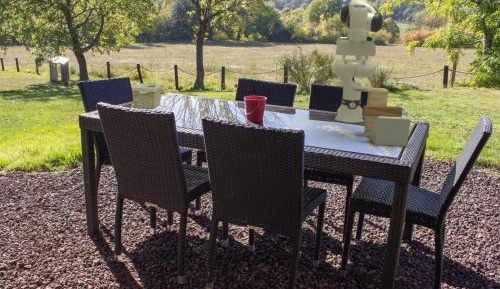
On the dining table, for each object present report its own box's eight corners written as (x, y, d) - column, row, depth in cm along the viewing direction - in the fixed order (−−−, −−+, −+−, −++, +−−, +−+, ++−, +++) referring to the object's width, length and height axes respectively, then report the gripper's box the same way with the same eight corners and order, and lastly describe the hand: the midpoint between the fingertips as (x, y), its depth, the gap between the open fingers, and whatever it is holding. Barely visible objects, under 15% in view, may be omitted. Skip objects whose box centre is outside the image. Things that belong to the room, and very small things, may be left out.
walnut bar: (362, 114, 243) (363, 105, 242) (399, 115, 242) (400, 106, 241) (364, 115, 239) (364, 107, 238) (401, 116, 238) (402, 108, 237)
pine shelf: (348, 132, 265) (352, 86, 259) (379, 133, 264) (384, 88, 258) (350, 135, 256) (354, 88, 250) (383, 137, 256) (388, 90, 249)
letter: (375, 114, 246) (375, 113, 246) (402, 115, 245) (402, 114, 245) (380, 117, 235) (380, 117, 235) (408, 119, 234) (408, 118, 234)
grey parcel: (370, 139, 250) (373, 113, 246) (401, 141, 249) (404, 115, 245) (375, 144, 238) (378, 118, 235) (407, 146, 237) (410, 119, 234)
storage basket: (140, 103, 335) (139, 82, 331) (162, 104, 335) (162, 83, 331) (131, 108, 312) (131, 86, 308) (155, 109, 312) (155, 87, 308)
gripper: (337, 36, 238) (335, 64, 241) (377, 38, 237) (374, 65, 240) (335, 36, 244) (333, 63, 247) (375, 38, 243) (372, 64, 246)
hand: (354, 64), depth 244 cm, fingers open, 8 cm apart
